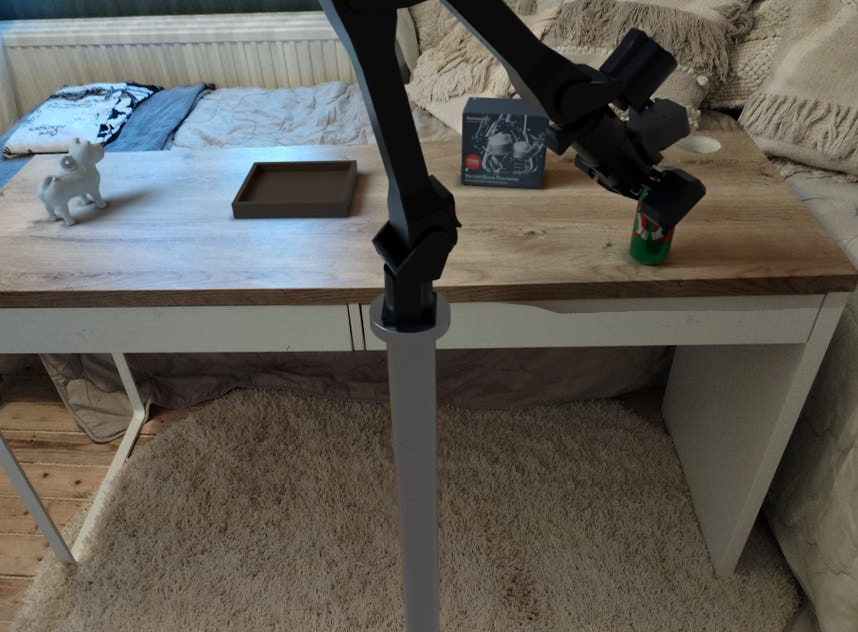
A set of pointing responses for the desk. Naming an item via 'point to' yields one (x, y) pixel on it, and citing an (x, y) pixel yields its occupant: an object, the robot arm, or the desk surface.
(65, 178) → the dog figurine
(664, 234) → the soda can
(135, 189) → the desk surface
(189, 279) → the desk surface
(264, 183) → the tray
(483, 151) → the small box
